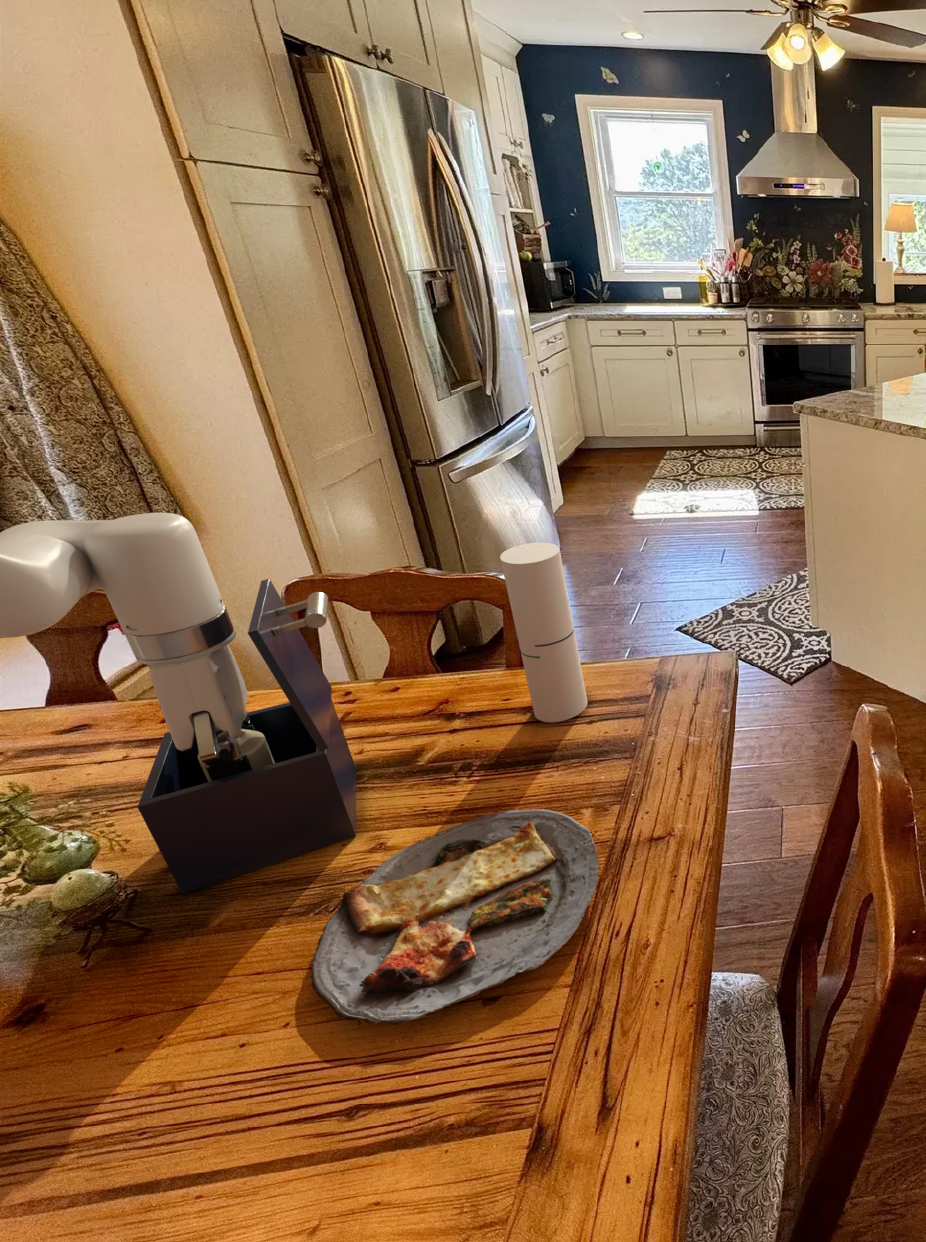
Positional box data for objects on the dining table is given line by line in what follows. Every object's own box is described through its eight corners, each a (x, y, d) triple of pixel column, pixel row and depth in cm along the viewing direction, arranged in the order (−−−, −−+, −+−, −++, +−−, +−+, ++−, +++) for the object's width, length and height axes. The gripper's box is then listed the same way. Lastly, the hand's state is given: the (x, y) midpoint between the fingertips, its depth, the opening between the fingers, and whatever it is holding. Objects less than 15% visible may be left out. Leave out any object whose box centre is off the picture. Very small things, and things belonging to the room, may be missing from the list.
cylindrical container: (584, 718, 106) (555, 561, 96) (530, 725, 104) (494, 566, 94) (589, 690, 112) (563, 540, 102) (538, 697, 110) (506, 544, 100)
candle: (235, 796, 85) (205, 726, 81) (294, 785, 87) (267, 715, 83) (216, 829, 80) (182, 756, 76) (278, 816, 82) (249, 744, 78)
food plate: (303, 1084, 60) (290, 1057, 59) (330, 885, 78) (320, 860, 77) (621, 946, 73) (616, 920, 71) (581, 801, 91) (576, 779, 89)
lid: (247, 633, 72) (313, 613, 75) (260, 580, 82) (318, 564, 85) (320, 751, 79) (378, 729, 82) (324, 690, 90) (375, 672, 92)
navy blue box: (182, 895, 77) (136, 807, 72) (202, 814, 87) (164, 732, 82) (356, 836, 84) (325, 753, 80) (356, 768, 95) (329, 691, 90)
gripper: (149, 608, 79) (209, 744, 86) (109, 685, 66) (183, 836, 73) (240, 592, 83) (290, 723, 90) (219, 661, 70) (279, 807, 77)
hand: (242, 772), depth 82 cm, fingers closed on candle, 5 cm apart
